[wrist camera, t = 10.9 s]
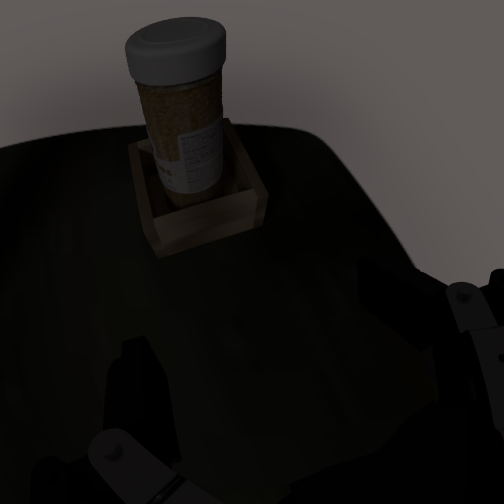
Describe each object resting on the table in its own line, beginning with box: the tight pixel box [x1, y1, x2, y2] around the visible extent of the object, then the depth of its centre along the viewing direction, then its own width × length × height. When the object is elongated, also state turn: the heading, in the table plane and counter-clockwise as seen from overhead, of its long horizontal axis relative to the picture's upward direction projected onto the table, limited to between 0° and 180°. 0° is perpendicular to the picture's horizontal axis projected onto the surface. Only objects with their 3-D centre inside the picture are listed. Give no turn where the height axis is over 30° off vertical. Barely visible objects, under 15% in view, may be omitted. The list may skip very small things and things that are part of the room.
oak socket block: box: [128, 118, 269, 259], centre depth 20 cm, size 8×8×4 cm
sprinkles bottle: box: [125, 17, 226, 212], centre depth 15 cm, size 5×5×14 cm
